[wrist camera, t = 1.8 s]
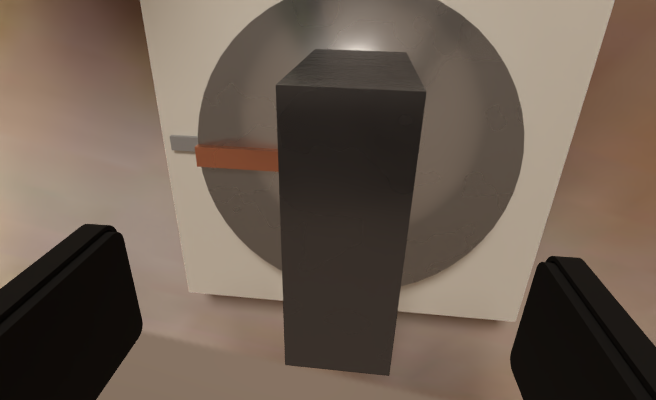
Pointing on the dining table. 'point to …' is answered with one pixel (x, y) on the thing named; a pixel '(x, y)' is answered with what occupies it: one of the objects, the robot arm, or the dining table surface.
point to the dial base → (500, 243)
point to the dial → (358, 160)
